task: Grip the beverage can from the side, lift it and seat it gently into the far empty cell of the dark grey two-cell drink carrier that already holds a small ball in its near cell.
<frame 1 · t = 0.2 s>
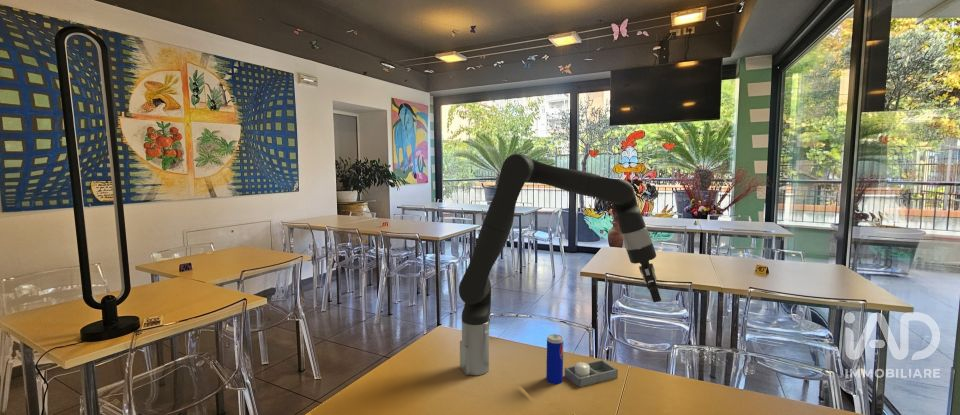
hand: (656, 296, 123), 31 cm above the table, tool tilted 20°, fingers open, 8 cm apart
beverage can: (554, 382, 134), on the table
ball: (581, 379, 134), point 1 cm above the table, touching carrier
carrier: (590, 379, 135), on the table
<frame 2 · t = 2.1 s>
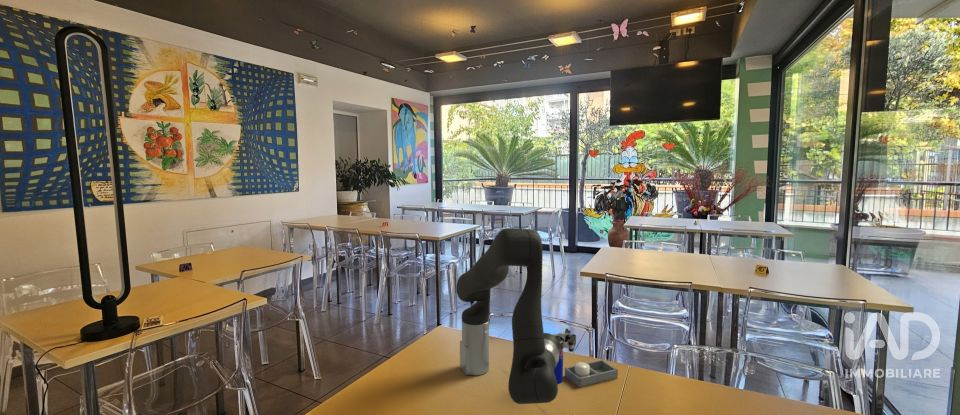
hand: (552, 330, 121), 22 cm above the table, tool horizontal, fingers open, 8 cm apart
nothing on the table moved.
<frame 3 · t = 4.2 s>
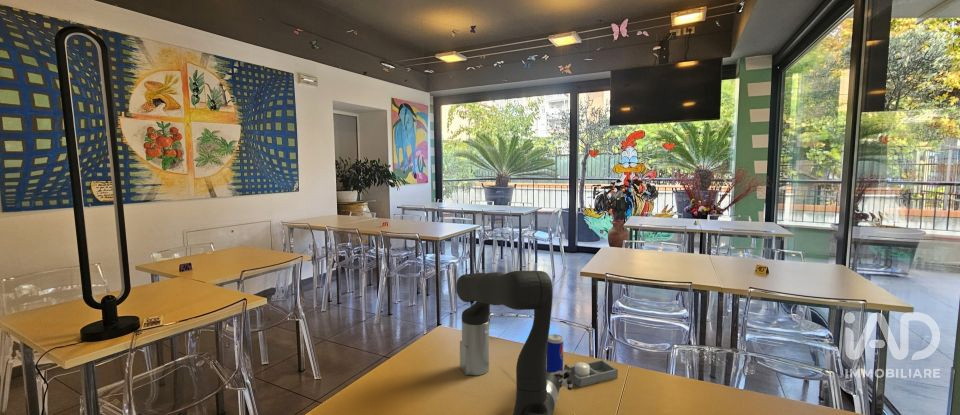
hand: (551, 365, 126), 9 cm above the table, tool horizontal, fingers open, 8 cm apart
nothing on the table moved.
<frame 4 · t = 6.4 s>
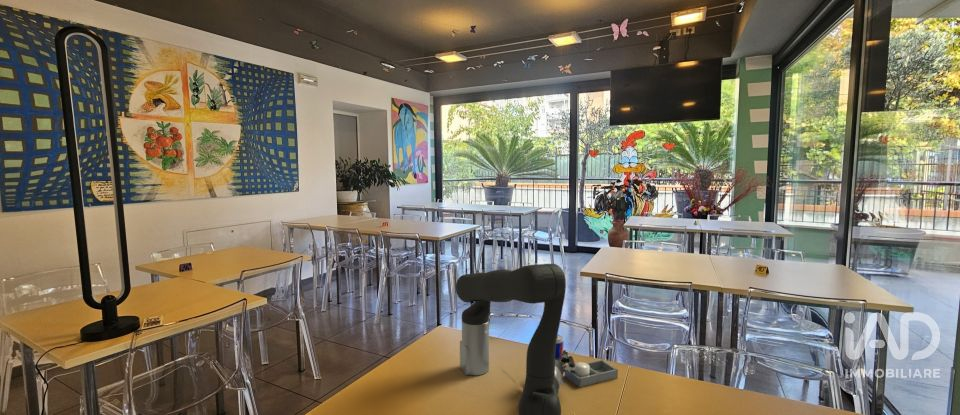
hand: (555, 351, 135), 9 cm above the table, tool horizontal, fingers closed on beverage can, 5 cm apart
beverage can: (554, 382, 134), on the table, touching gripper
everything else where it was.
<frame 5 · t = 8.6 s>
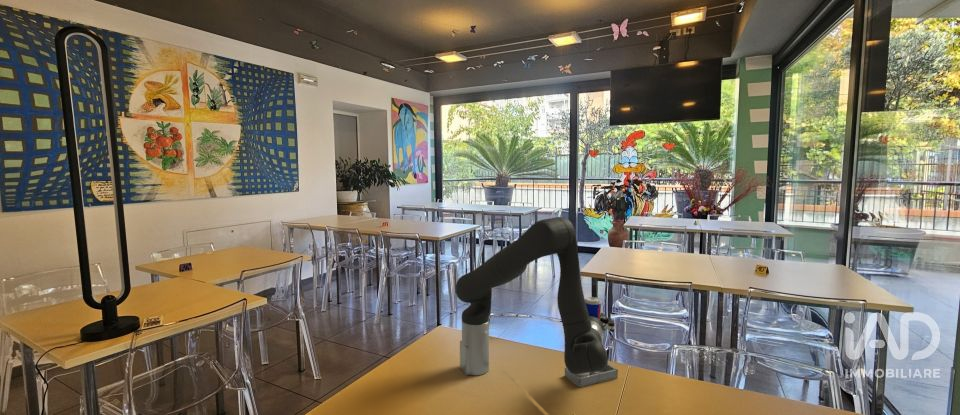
hand: (592, 314, 136), 21 cm above the table, tool horizontal, fingers closed on beverage can, 5 cm apart
beverage can: (591, 345, 134), point 12 cm above the table, touching gripper
everything else where it was.
when the fingers open (11 cm above the table, at t = 11.1 s): beverage can drops 2 cm, resting on carrier.
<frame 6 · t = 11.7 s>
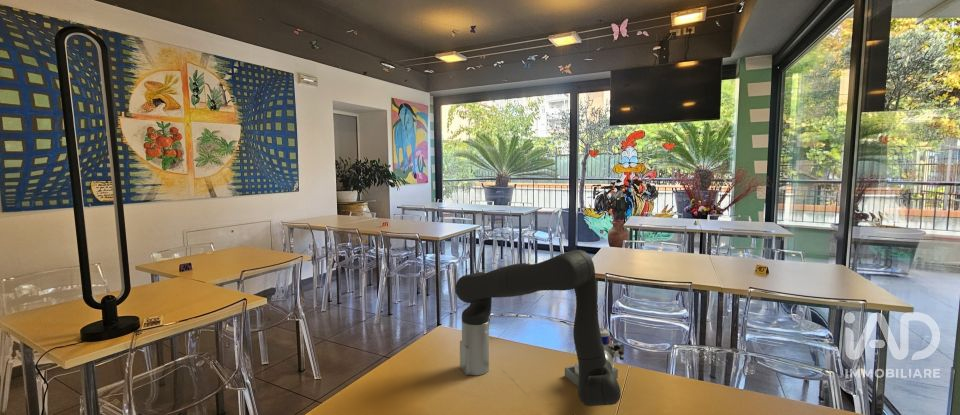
hand: (600, 340, 138), 12 cm above the table, tool horizontal, fingers open, 8 cm apart
beverage can: (599, 375, 137), point 1 cm above the table, touching carrier
everything else where it was.
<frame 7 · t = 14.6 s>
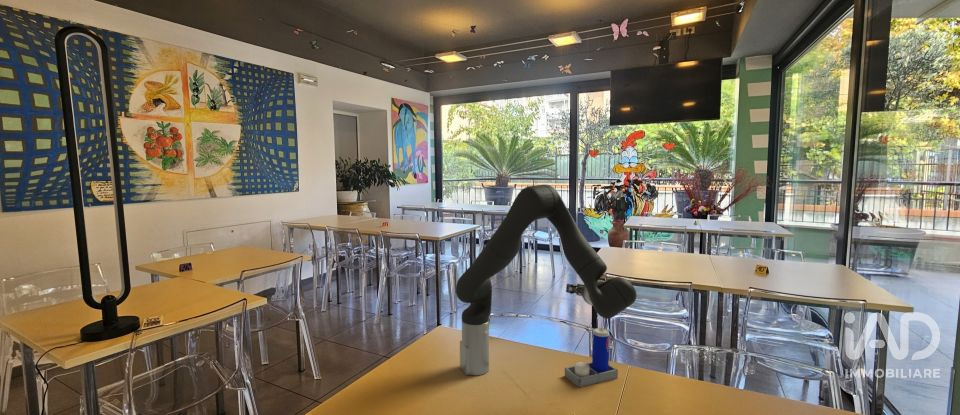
hand: (586, 290, 132), 30 cm above the table, tool horizontal, fingers open, 8 cm apart
nothing on the table moved.
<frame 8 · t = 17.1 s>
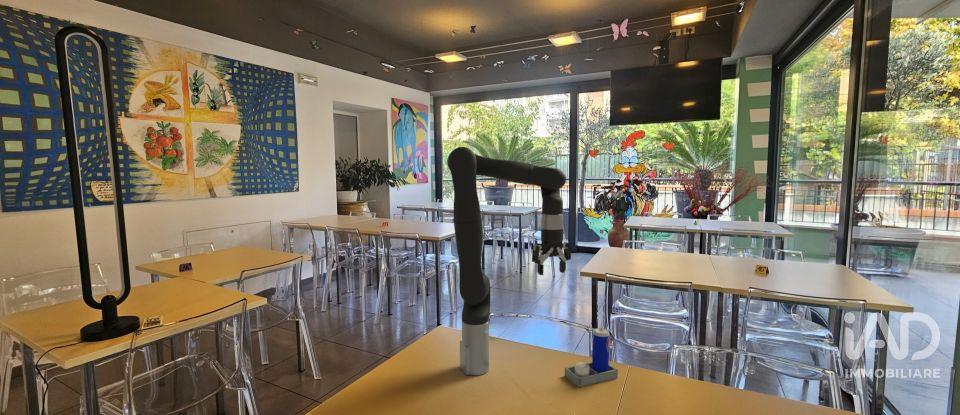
hand: (551, 273, 144), 32 cm above the table, tool pointing down, fingers open, 8 cm apart
nothing on the table moved.
at the end: beverage can 0.1 cm from the target spot on the carrier, point 0.6 cm above the carrier's base; beverage can tilted 0°; the gripper is holding nothing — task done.
